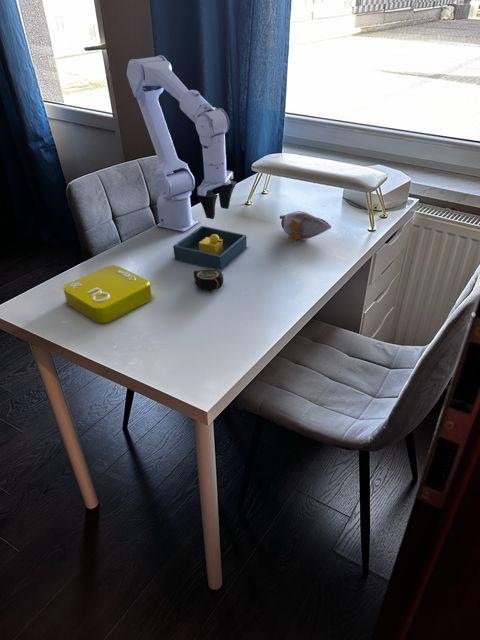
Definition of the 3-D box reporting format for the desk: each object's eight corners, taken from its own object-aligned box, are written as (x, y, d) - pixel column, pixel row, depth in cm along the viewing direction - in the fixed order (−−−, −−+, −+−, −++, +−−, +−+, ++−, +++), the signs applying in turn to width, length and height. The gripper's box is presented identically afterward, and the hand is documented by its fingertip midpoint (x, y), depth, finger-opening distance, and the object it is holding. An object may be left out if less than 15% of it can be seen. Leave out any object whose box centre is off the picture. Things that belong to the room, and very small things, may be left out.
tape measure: (221, 278, 125) (221, 265, 123) (225, 292, 120) (224, 278, 118) (194, 281, 125) (193, 267, 122) (196, 295, 119) (195, 281, 117)
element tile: (155, 298, 118) (153, 280, 115) (102, 326, 109) (97, 308, 106) (116, 278, 126) (113, 261, 123) (63, 302, 117) (58, 285, 114)
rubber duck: (199, 253, 135) (198, 234, 132) (207, 247, 138) (206, 229, 135) (219, 258, 133) (217, 239, 130) (226, 251, 136) (225, 233, 133)
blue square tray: (174, 259, 134) (173, 245, 131) (202, 238, 144) (201, 225, 141) (220, 270, 129) (220, 256, 126) (246, 248, 139) (246, 235, 136)
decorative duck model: (279, 202, 148) (331, 201, 147) (280, 227, 152) (330, 227, 151) (276, 217, 136) (332, 217, 134) (276, 244, 140) (331, 244, 138)
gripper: (213, 172, 121) (216, 225, 130) (242, 156, 132) (243, 206, 140) (188, 168, 124) (193, 220, 132) (219, 152, 134) (221, 201, 143)
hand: (217, 213), depth 136 cm, fingers open, 7 cm apart
